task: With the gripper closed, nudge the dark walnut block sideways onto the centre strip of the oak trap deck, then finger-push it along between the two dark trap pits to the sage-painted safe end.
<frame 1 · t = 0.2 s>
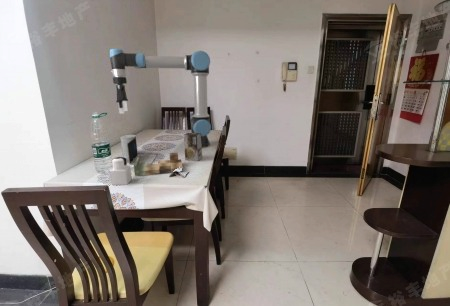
hand: (123, 112, 149), 28 cm above the table, fingers open, 13 cm apart
laptop: (144, 160, 146), on the table
grey mottled cylinder: (130, 154, 158), on the table
coffee box: (193, 159, 147), on the table
block: (174, 161, 135), point 2 cm above the table, touching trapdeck
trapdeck: (159, 169, 129), on the table
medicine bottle: (122, 182, 113), on the table
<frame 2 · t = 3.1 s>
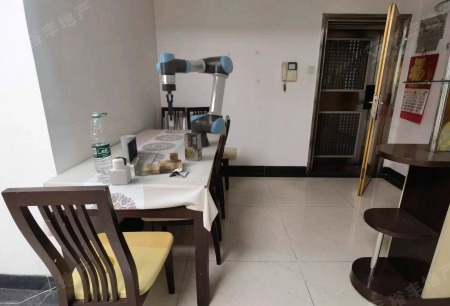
hand: (171, 126, 137), 21 cm above the table, fingers closed
nothing on the table moved.
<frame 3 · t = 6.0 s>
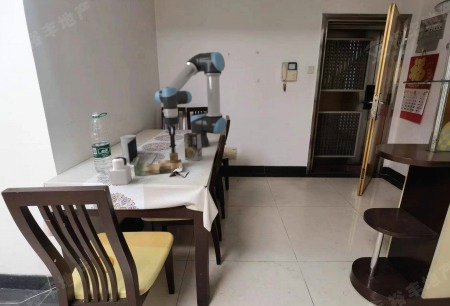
hand: (173, 157, 136), 4 cm above the table, fingers closed
block: (174, 161, 134), point 3 cm above the table, touching gripper
everything else where it was.
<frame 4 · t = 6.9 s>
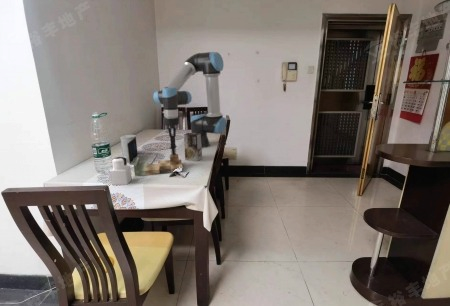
hand: (173, 159, 134), 4 cm above the table, fingers closed
block: (174, 163, 131), point 2 cm above the table, touching gripper, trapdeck
everything else where it was.
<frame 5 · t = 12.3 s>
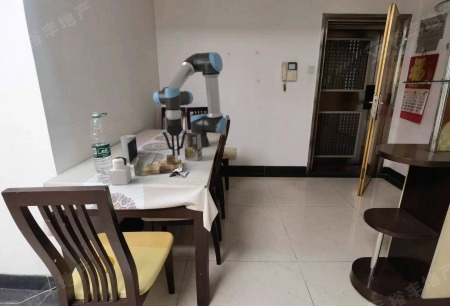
hand: (176, 161, 130), 4 cm above the table, fingers closed
block: (171, 163, 131), point 3 cm above the table, touching gripper
everything else where it was.
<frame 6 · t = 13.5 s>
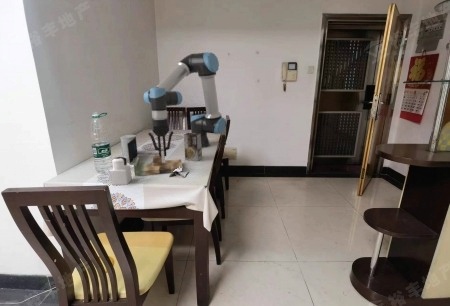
hand: (163, 162, 129), 4 cm above the table, fingers closed
block: (158, 164, 129), point 2 cm above the table, touching gripper, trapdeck
everything else where it was.
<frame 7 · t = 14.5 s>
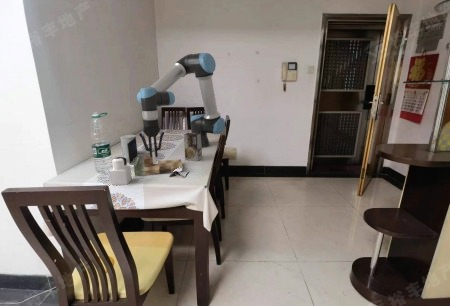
hand: (154, 162, 128), 4 cm above the table, fingers closed
block: (149, 165, 128), point 2 cm above the table, touching gripper, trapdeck
everything else where it was.
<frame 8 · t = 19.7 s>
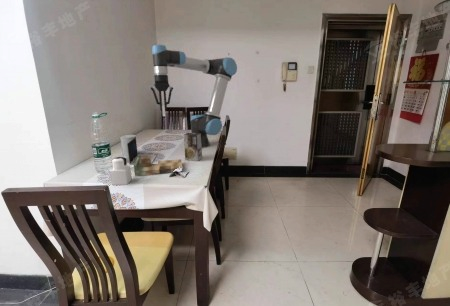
hand: (164, 116, 142), 26 cm above the table, fingers closed
block: (146, 165, 128), point 2 cm above the table, touching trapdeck
everything else where it was.
at the end: block 1.8 cm from the target spot on the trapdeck, point 2.5 cm above the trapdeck's base; block tilted 0° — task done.
